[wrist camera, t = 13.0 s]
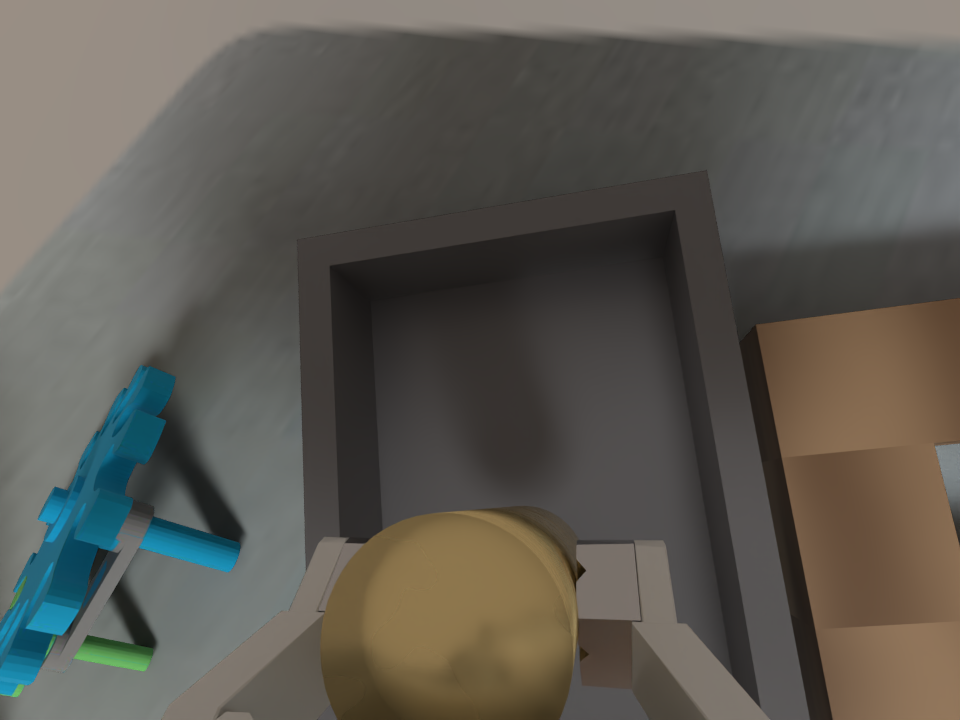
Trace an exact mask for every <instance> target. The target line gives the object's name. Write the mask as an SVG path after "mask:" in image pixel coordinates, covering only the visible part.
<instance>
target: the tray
mask: <svg viewBox="0 0 960 720" xmlns="http://www.w3.org/2000/svg"><path fill="white" fill-rule="evenodd" d="M297 244H298V283H299V322H300V360H301V399H302V437H303V476H304V514H305V553H306V570H307V568H308V566H309V563H310V561H311V559H312V556H313V554H314V552H315V549H316V547H317V545H318V543H319V542H320V541H321V540H322V539H323V538H324V537H348V538H349V537H355V538H372V537H374V536H375V535H376V534H378V533H379V532H381V531H383V530H384V529H386V528H387V527H389V526H391V525H393V524H396V523H398V522H400V521H402V520H405V519H409V518H412V517H415V516H419V515H425V514H432V513H442V512H453V511H465V510H476V509H488V508H499V507H511V506H534V507H538V508H542V509H544V510H547V511H549V512H551V513H553V514H555V515H557V516H558V517H559V518H561V519H562V520H563V521H564V522H566V523H567V524H568V525H569V526H570V528H571V529H572V530H573V531H574V533H575V534H576V536H577V537H578V539H579V540H633V542H634V540H663V541H664V543H665V545H666V550H667V557H668V564H669V571H670V577H671V584H672V591H673V598H674V604H675V611H676V618H677V623H683V624H687V625H688V626H689V627H690V628H691V629H692V631H693V632H694V633H695V634H696V635H697V636H698V638H699V639H700V640H701V641H702V642H703V643H704V644H705V646H706V647H707V648H708V649H709V650H710V651H711V652H712V654H713V655H714V656H715V657H716V658H717V659H718V660H719V662H720V663H721V664H722V665H723V666H724V667H725V668H726V670H727V671H728V672H729V673H730V674H731V675H732V677H733V678H734V679H735V680H736V681H737V682H738V683H739V685H740V686H741V687H742V688H743V689H744V690H745V691H746V693H747V694H748V695H749V696H750V697H751V698H752V699H753V701H754V702H755V703H756V704H757V705H758V706H759V707H760V709H761V710H762V711H763V712H764V713H765V714H766V715H767V717H768V718H769V719H770V720H810V717H809V712H808V707H807V701H806V696H805V691H804V685H803V680H802V675H801V669H800V664H799V659H798V653H797V648H796V643H795V637H794V632H793V627H792V621H791V616H790V611H789V605H788V600H787V595H786V589H785V584H784V579H783V573H782V568H781V563H780V558H779V552H778V547H777V542H776V536H775V531H774V526H773V520H772V515H771V510H770V504H769V499H768V494H767V488H766V483H765V478H764V472H763V467H762V462H761V456H760V451H759V446H758V440H757V435H756V430H755V424H754V419H753V414H752V408H751V403H750V398H749V392H748V387H747V382H746V376H745V371H744V366H743V360H742V355H741V350H740V344H739V339H738V334H737V329H736V323H735V318H734V313H733V307H732V302H731V297H730V291H729V286H728V281H727V275H726V270H725V265H724V259H723V254H722V249H721V243H720V238H719V233H718V227H717V222H716V217H715V211H714V206H713V201H712V195H711V190H710V185H709V179H708V174H707V170H706V171H700V172H694V173H688V174H682V175H676V176H671V177H665V178H659V179H653V180H647V181H641V182H635V183H629V184H623V185H617V186H611V187H606V188H600V189H594V190H588V191H582V192H576V193H570V194H564V195H558V196H552V197H546V198H541V199H535V200H529V201H523V202H517V203H511V204H505V205H499V206H493V207H487V208H481V209H476V210H470V211H464V212H458V213H452V214H446V215H440V216H434V217H428V218H422V219H416V220H411V221H405V222H399V223H393V224H387V225H381V226H375V227H369V228H363V229H357V230H351V231H346V232H340V233H334V234H328V235H322V236H316V237H310V238H304V239H298V240H297ZM317 720H337V718H336V715H335V713H334V711H333V709H332V707H331V704H330V705H329V706H328V707H327V708H326V710H325V711H324V712H323V713H322V714H321V716H320V717H319V718H318V719H317ZM559 720H650V719H649V718H648V716H647V715H646V713H645V711H644V710H643V708H642V707H641V705H640V703H639V702H638V700H637V699H636V697H635V695H634V694H633V692H632V689H619V688H606V687H593V686H582V682H581V672H580V654H579V645H578V641H577V648H576V654H575V661H574V667H573V673H572V679H571V684H570V689H569V694H568V698H567V700H566V703H565V706H564V709H563V712H562V715H561V717H560V719H559Z"/></svg>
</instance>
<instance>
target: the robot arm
mask: <svg viewBox="0 0 960 720" xmlns="http://www.w3.org/2000/svg"><path fill="white" fill-rule="evenodd" d="M370 539H371V538H355V537H349V538H348V537H324V538H323V539H322V540H321V541H320V542H319V543H318V545H317V547H316V549H315V552H314V554H313V556H312V559H311V561H310V563H309V566H308V568H307V570H306V572H305V575H304V577H303V579H302V582H301V584H300V586H299V589H298V591H297V593H296V595H295V598H294V600H293V602H292V605H291V607H290V609H289V611H281V612H279V613H278V614H277V615H276V616H275V617H273V618H272V619H271V620H270V621H269V622H268V623H266V624H265V625H264V626H263V627H262V628H260V629H259V630H258V631H257V632H256V633H254V634H253V635H252V636H251V637H250V638H248V639H247V640H246V641H245V642H244V643H243V644H241V645H240V646H239V647H238V648H237V649H235V650H234V651H233V652H232V653H231V654H229V655H228V656H227V657H226V658H225V659H223V660H222V661H221V662H220V663H219V664H218V665H216V666H215V667H214V668H213V669H212V670H210V671H209V672H208V673H207V674H206V675H204V676H203V677H202V678H201V679H200V680H198V681H197V682H196V683H195V684H194V685H193V686H191V687H190V688H189V689H188V690H187V691H185V692H184V693H183V694H182V695H181V696H179V697H178V698H177V699H176V700H175V701H173V702H172V703H171V704H170V705H169V706H168V708H167V710H166V712H165V714H164V715H163V717H162V719H161V720H317V719H318V718H319V717H320V716H321V714H322V713H323V712H324V711H325V710H326V708H327V707H328V706H329V705H330V701H329V698H328V695H327V692H326V689H325V685H324V680H323V675H322V669H321V657H320V640H321V630H322V623H323V617H324V613H325V609H326V606H327V602H328V599H329V597H330V594H331V592H332V589H333V587H334V585H335V583H336V581H337V579H338V577H339V575H340V574H341V572H342V570H343V569H344V567H345V566H346V565H347V563H348V562H349V560H350V559H351V558H352V557H353V555H354V554H355V553H356V552H357V551H358V550H359V549H360V548H361V547H362V546H363V545H364V544H365V543H366V542H368V541H369V540H370ZM576 562H577V579H578V581H577V582H576V598H577V606H578V621H579V632H578V645H579V654H580V672H581V682H582V686H593V687H606V688H619V689H632V692H633V694H634V695H635V697H636V699H637V700H638V702H639V703H640V705H641V707H642V708H643V710H644V711H645V713H646V715H647V716H648V718H649V719H650V720H770V719H769V718H768V717H767V715H766V714H765V713H764V712H763V711H762V710H761V709H760V707H759V706H758V705H757V704H756V703H755V702H754V701H753V699H752V698H751V697H750V696H749V695H748V694H747V693H746V691H745V690H744V689H743V688H742V687H741V686H740V685H739V683H738V682H737V681H736V680H735V679H734V678H733V677H732V675H731V674H730V673H729V672H728V671H727V670H726V668H725V667H724V666H723V665H722V664H721V663H720V662H719V660H718V659H717V658H716V657H715V656H714V655H713V654H712V652H711V651H710V650H709V649H708V648H707V647H706V646H705V644H704V643H703V642H702V641H701V640H700V639H699V638H698V636H697V635H696V634H695V633H694V632H693V631H692V629H691V628H690V627H689V626H688V625H687V624H683V623H677V618H676V611H675V604H674V598H673V591H672V584H671V577H670V571H669V564H668V557H667V550H666V545H665V543H664V541H663V540H634V542H633V540H577V545H576Z"/></svg>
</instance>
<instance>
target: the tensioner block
mask: <svg viewBox="0 0 960 720" xmlns="http://www.w3.org/2000/svg"><path fill="white" fill-rule="evenodd" d="M739 344H740V350H741V355H742V360H743V366H744V371H745V376H746V382H747V387H748V392H749V398H750V403H751V408H752V414H753V419H754V424H755V430H756V435H757V440H758V446H759V451H760V456H761V462H762V467H763V472H764V478H765V483H766V488H767V494H768V499H769V504H770V510H771V515H772V520H773V526H774V531H775V536H776V542H777V547H778V552H779V558H780V563H781V568H782V573H783V579H784V584H785V589H786V595H787V600H788V605H789V611H790V616H791V621H792V627H793V632H794V637H795V643H796V648H797V653H798V659H799V664H800V669H801V675H802V680H803V685H804V691H805V696H806V701H807V707H808V712H809V717H810V720H960V546H959V542H958V538H957V534H956V530H955V526H954V522H953V518H952V514H951V510H950V506H949V502H948V498H947V494H946V490H945V486H944V482H943V478H942V474H941V470H940V466H939V462H938V458H937V454H936V450H935V446H938V445H948V444H958V443H960V298H956V299H948V300H941V301H933V302H925V303H918V304H910V305H902V306H895V307H887V308H879V309H871V310H864V311H856V312H848V313H841V314H833V315H825V316H818V317H810V318H802V319H795V320H787V321H779V322H772V323H764V324H756V325H755V326H754V327H753V328H752V329H751V331H750V332H749V333H748V334H747V335H746V336H745V337H744V339H743V340H742V341H741V342H740V343H739Z"/></svg>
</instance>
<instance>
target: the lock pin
mask: <svg viewBox="0 0 960 720" xmlns="http://www.w3.org/2000/svg"><path fill="white" fill-rule="evenodd" d="M577 540H579V539H578V537H577V536H576V534H575V533H574V531H573V530H572V529H571V528H570V526H569V525H568V524H567V523H566V522H564V521H563V520H562V519H561V518H559V517H558V516H557V515H555V514H553V513H551V512H549V511H547V510H544V509H542V508H538V507H534V506H511V507H499V508H488V509H476V510H465V511H453V512H442V513H432V514H425V515H419V516H415V517H412V518H409V519H405V520H402V521H400V522H398V523H396V524H393V525H391V526H389V527H387V528H386V529H384V530H383V531H381V532H379V533H378V534H376V535H375V536H374V537H372V538H371V539H370V540H369V541H368V542H366V543H365V544H364V545H363V546H362V547H361V548H360V549H359V550H358V551H357V552H356V553H355V554H354V555H353V557H352V558H351V559H350V560H349V562H348V563H347V565H346V566H345V567H344V569H343V570H342V572H341V574H340V575H339V577H338V579H337V581H336V583H335V585H334V587H333V589H332V592H331V594H330V597H329V599H328V602H327V606H326V609H325V613H324V617H323V623H322V630H321V640H320V657H321V669H322V675H323V680H324V685H325V689H326V692H327V695H328V698H329V701H330V704H331V707H332V709H333V711H334V713H335V715H336V718H337V720H559V719H560V717H561V715H562V712H563V709H564V706H565V703H566V700H567V698H568V694H569V689H570V684H571V679H572V673H573V667H574V661H575V654H576V648H577V641H578V632H579V621H578V606H577V598H576V582H577V581H578V579H577V562H576V545H577Z"/></svg>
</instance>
